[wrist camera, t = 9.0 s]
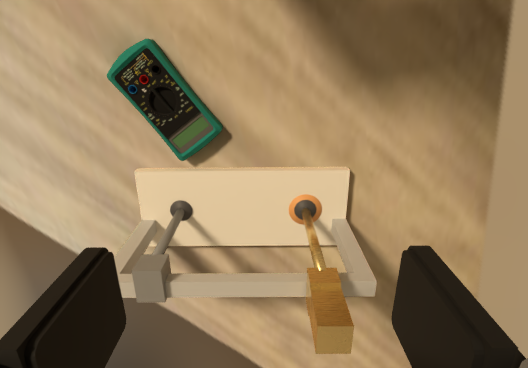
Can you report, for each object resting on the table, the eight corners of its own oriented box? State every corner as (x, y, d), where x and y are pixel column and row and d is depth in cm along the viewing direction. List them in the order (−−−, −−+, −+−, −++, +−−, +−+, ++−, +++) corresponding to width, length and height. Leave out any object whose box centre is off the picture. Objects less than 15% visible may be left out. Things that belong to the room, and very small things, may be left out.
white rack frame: (137, 168, 48) (76, 223, 32) (347, 166, 47) (388, 221, 32) (149, 241, 52) (99, 320, 36) (341, 240, 52) (374, 319, 36)
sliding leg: (295, 208, 47) (318, 320, 27) (316, 207, 47) (354, 320, 27) (294, 233, 49) (315, 357, 29) (314, 233, 49) (350, 357, 29)
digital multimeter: (150, 34, 42) (142, 32, 39) (225, 127, 46) (223, 132, 43) (109, 71, 43) (99, 72, 41) (186, 158, 48) (181, 164, 45)
